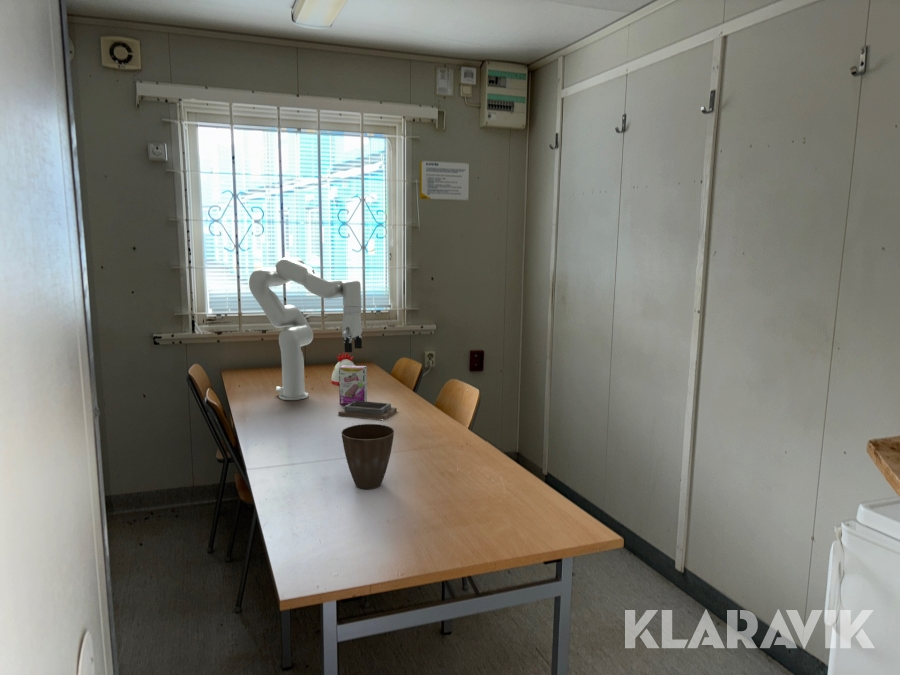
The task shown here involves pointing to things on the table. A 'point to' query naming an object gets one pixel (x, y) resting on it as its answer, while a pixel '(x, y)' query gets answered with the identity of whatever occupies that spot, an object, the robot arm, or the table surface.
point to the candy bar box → (352, 384)
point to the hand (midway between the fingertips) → (353, 350)
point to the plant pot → (367, 453)
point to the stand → (368, 410)
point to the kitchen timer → (342, 361)
